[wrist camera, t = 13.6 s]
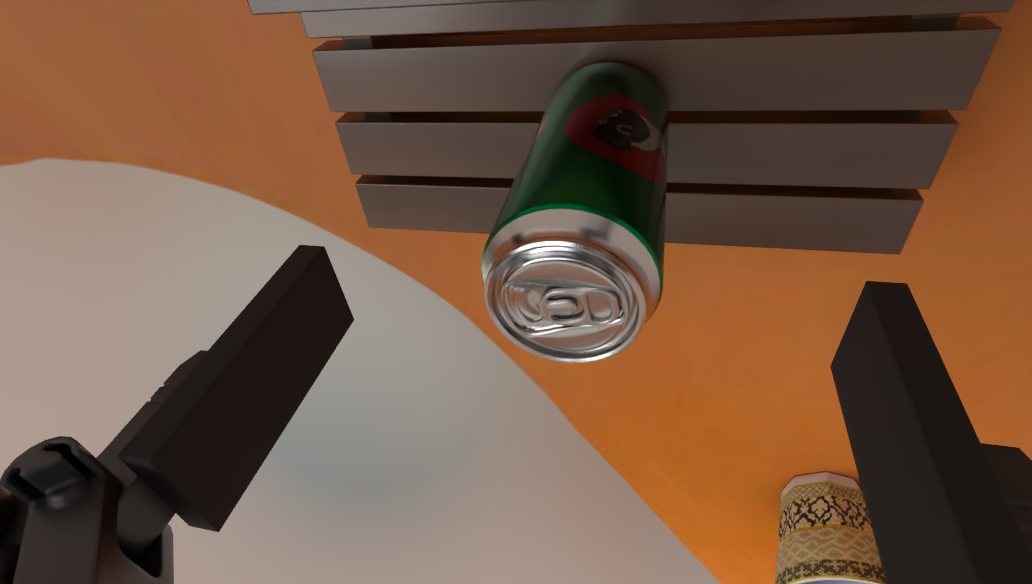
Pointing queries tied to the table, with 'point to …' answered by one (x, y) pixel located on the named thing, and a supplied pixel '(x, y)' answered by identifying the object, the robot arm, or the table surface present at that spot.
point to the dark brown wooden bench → (688, 94)
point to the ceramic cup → (826, 533)
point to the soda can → (584, 221)
